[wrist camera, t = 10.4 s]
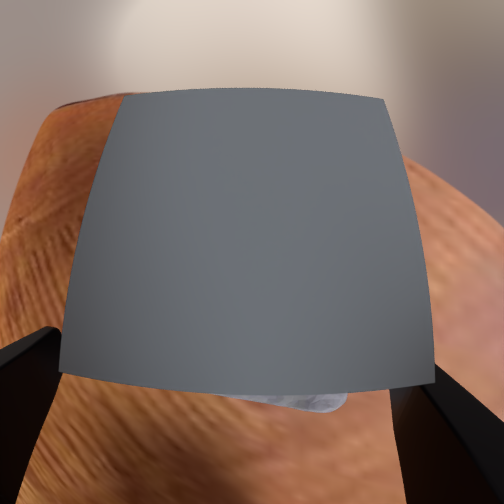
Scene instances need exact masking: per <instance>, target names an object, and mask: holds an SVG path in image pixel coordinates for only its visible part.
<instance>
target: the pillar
mask: <svg viewBox="0 0 504 504" xmlns="http://www.w3.org/2000/svg"><path fill="white" fill-rule="evenodd" d="M59 372H62V373H67V374H71V375H76V376H81V377H86V378H91V379H97V380H102V381H108V382H114V383H120V384H126V385H133V386H140V387H148V388H156V389H165V390H174V391H185V392H197V393H211V394H229V395H265V396H286V395H322V394H340V393H354V392H365V391H376V390H385V389H394V388H402V387H409V386H416V385H423V384H429V383H435V360H434V340H433V326H432V314H431V304H430V295H429V287H428V279H427V272H426V265H425V259H424V253H423V247H422V241H421V236H420V230H419V225H418V220H417V215H416V211H415V206H414V202H413V197H412V193H411V189H410V185H409V181H408V177H407V173H406V170H405V166H404V162H403V159H402V155H401V152H400V149H399V145H398V142H397V139H396V135H395V132H394V129H393V126H392V123H391V120H390V117H389V114H388V111H387V108H386V106H385V103H384V100H383V99H379V98H373V97H365V96H358V95H351V94H342V93H333V92H322V91H310V90H296V89H274V88H211V89H189V90H175V91H163V92H152V93H143V94H135V95H127V96H124V98H123V101H122V103H121V105H120V108H119V110H118V113H117V115H116V118H115V120H114V123H113V126H112V128H111V131H110V134H109V136H108V139H107V142H106V145H105V147H104V150H103V153H102V156H101V159H100V162H99V165H98V168H97V171H96V175H95V178H94V181H93V184H92V188H91V191H90V195H89V198H88V202H87V205H86V209H85V213H84V217H83V221H82V225H81V229H80V233H79V237H78V242H77V246H76V251H75V255H74V260H73V265H72V271H71V276H70V281H69V287H68V293H67V300H66V306H65V313H64V321H63V329H62V338H61V349H60V360H59Z"/></svg>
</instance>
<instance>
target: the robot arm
mask: <svg viewBox="0 0 504 504" xmlns="http://www.w3.org/2000/svg"><path fill="white" fill-rule="evenodd" d="M61 338H62V334H61V332H60V330H59V329H58V328H56V327H50V326H46V327H44V328H42V329H40V330H38V331H36V332H34V333H32V334H30V335H28V336H26V337H24V338H22V339H20V340H18V341H16V342H14V343H12V344H10V345H8V346H6V347H4V348H2V349H0V504H15V503H16V500H17V497H18V493H19V490H20V487H21V484H22V481H23V478H24V475H25V472H26V469H27V466H28V463H29V460H30V458H31V455H32V452H33V449H34V447H35V444H36V441H37V439H38V436H39V434H40V431H41V429H42V426H43V424H44V421H45V419H46V416H47V414H48V412H49V409H50V407H51V405H52V402H53V400H54V397H55V394H56V391H57V388H58V385H59V382H60V379H61V376H62V374H63V373H62V372H59V360H60V349H61ZM389 391H390V400H391V410H392V420H393V430H394V435H395V441H396V446H397V451H398V456H399V461H400V467H401V472H402V478H403V484H404V490H405V497H406V503H407V504H504V422H503V421H502V420H500V419H499V418H498V417H497V416H496V415H495V414H494V413H492V412H491V411H490V410H489V409H488V408H487V407H486V406H484V405H483V404H482V403H481V402H480V401H479V400H478V399H476V398H475V397H474V396H473V395H472V394H471V393H469V392H468V391H467V390H466V389H465V388H464V387H462V386H461V385H460V384H459V383H458V382H456V381H455V380H454V379H453V378H452V377H451V376H449V375H448V374H447V373H446V372H445V371H443V370H442V369H441V368H440V367H439V366H438V365H436V364H435V383H429V384H423V385H416V386H409V387H402V388H394V389H389Z"/></svg>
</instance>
